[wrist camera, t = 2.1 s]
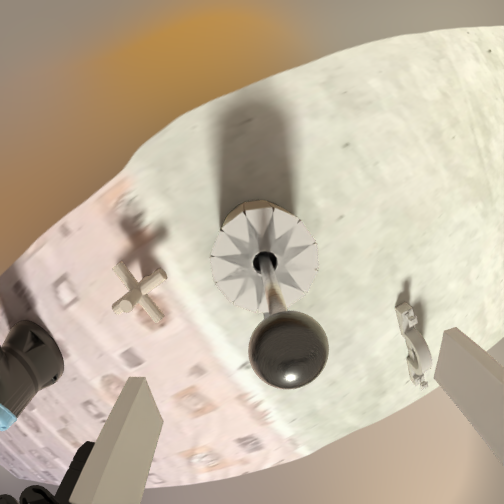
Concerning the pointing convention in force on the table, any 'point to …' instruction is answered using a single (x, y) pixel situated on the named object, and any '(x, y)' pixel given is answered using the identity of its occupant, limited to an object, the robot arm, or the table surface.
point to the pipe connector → (138, 292)
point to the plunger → (285, 337)
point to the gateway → (414, 345)
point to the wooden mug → (254, 241)
